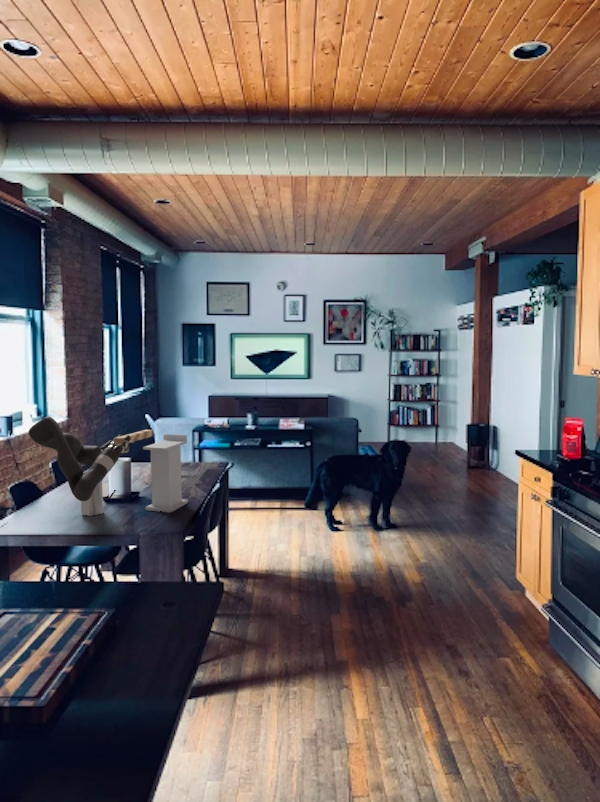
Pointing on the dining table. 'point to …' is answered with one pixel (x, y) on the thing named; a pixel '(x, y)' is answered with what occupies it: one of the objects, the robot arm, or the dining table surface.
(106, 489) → the baseboard molding
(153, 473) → the white plinth column
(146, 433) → the brown wooden block
